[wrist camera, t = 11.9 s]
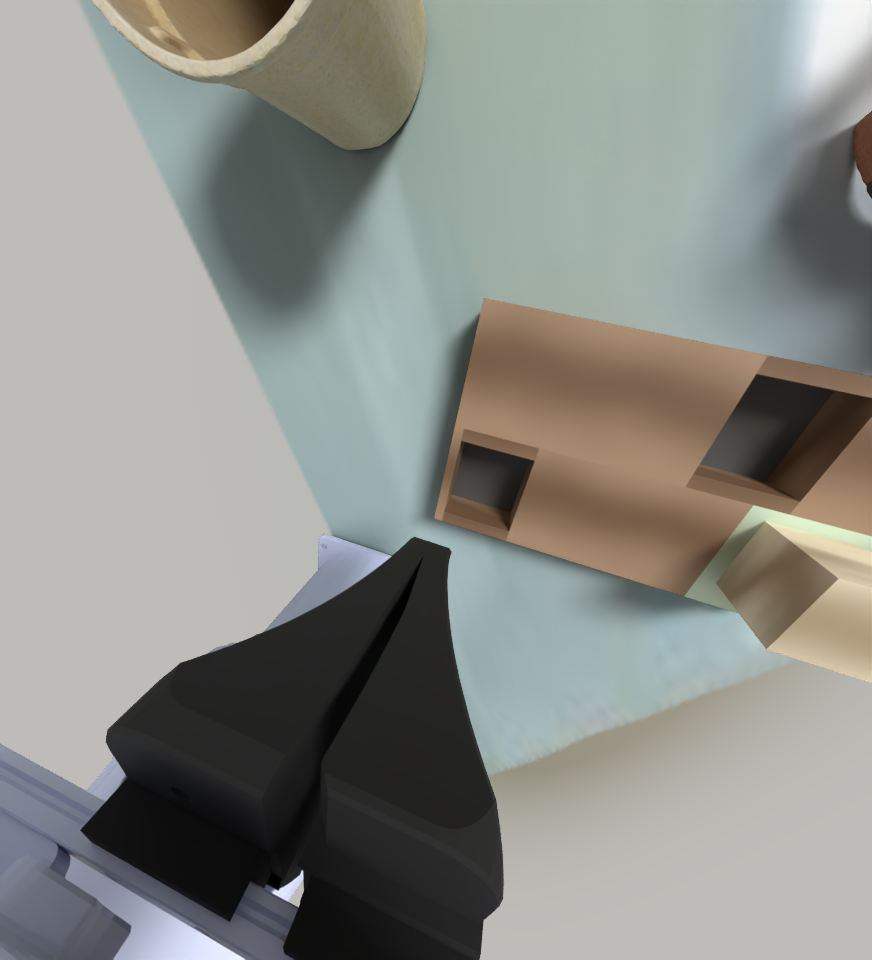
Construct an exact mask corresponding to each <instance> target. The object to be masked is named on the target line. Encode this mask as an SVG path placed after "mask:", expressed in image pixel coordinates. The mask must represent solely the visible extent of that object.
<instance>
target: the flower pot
mask: <svg viewBox="0 0 872 960" xmlns="http://www.w3.org/2000/svg"><path fill="white" fill-rule="evenodd" d="M91 1H92V2H93V4H94V5H95V6H96V7H97V9H98V10H99V11H100V12H101V13H102V14H103V15H104V17H105V18H106V19H107V20H108V21H109V23H110V24H111V25H112V26H113V27H114V28H115V29H116V30H117V31H118V32H119V33H120V34H121V35H123V36H124V37H125V38H126V40H127V41H128V42H130V43H131V44H132V45H133V46H135V47H136V48H137V49H138V50H139V51H140V52H141V53H143V54H144V55H145V56H147V57H148V58H150V59H151V60H152V61H154V62H155V63H157V64H159V65H160V66H161V67H163V68H165V69H167V70H169V71H171V72H173V73H175V74H177V75H179V76H182V77H185V78H188V79H191V80H194V81H198V82H205V83H223V84H226V85H229V86H232V87H236V88H242V89H247V90H248V91H250V92H252V93H253V94H255V95H256V96H258V97H260V98H261V99H263V100H265V101H266V102H268V103H269V104H271V105H273V106H274V107H276V108H278V109H279V110H281V111H282V112H284V113H286V114H287V115H289V116H291V117H292V118H294V119H296V120H297V121H299V122H300V123H302V124H304V125H305V126H307V127H309V128H310V129H312V130H313V131H315V132H317V133H318V134H320V135H321V136H323V137H325V138H326V139H328V140H329V141H330V142H332V143H333V144H335V145H337V146H338V147H341V148H343V149H346V150H360V149H369V148H373V147H378V146H380V145H382V144H383V143H385V142H386V141H388V140H389V139H390V138H391V137H392V136H393V135H394V134H395V133H396V132H397V131H398V130H399V129H400V127H401V126H402V125H403V123H404V122H405V120H406V119H407V117H408V115H409V113H410V112H411V110H412V107H413V105H414V103H415V100H416V98H417V95H418V92H419V89H420V86H421V82H422V78H423V73H424V64H425V47H426V22H425V12H424V6H423V1H422V0H91Z"/></svg>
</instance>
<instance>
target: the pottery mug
mask: <svg viewBox="0 0 872 960" xmlns="http://www.w3.org/2000/svg"><path fill="white" fill-rule="evenodd" d="M854 154H855V158H856V165H857V168H858V170H859V172H860V174H861V176H862V180H863V182H864V183H865V184H866V186H867V192H868V194H869V195H870V197H871V198H872V111H871V112H870V113H869V114H868V115H866V116H865V117H864V118H863V119H862V120H861V121H860V122H859V123H858V124H857V126H856V128H855V131H854Z"/></svg>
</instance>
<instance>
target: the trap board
mask: <svg viewBox="0 0 872 960" xmlns="http://www.w3.org/2000/svg"><path fill="white" fill-rule="evenodd" d="M434 519H437V520H440V521H443V522H447V523H450V524H453V525H456V526H459V527H463V528H466V529H469V530H472V531H475V532H479V533H482V534H485V535H488V536H492V537H495V538H498V539H501V540H504V541H508V542H511V543H514V544H517V545H520V546H524V547H527V548H530V549H533V550H537V551H540V552H543V553H546V554H549V555H553V556H556V557H559V558H562V559H565V560H569V561H572V562H575V563H578V564H582V565H585V566H588V567H591V568H594V569H598V570H601V571H604V572H607V573H610V574H614V575H617V576H620V577H623V578H626V579H630V580H633V581H636V582H639V583H643V584H646V585H649V586H652V587H655V588H659V589H662V590H665V591H668V592H671V593H675V594H678V595H681V596H684V597H688V598H691V599H694V600H697V601H700V602H704V603H707V604H710V605H713V606H716V607H720V608H723V609H726V610H729V611H733V612H736V613H738V611H737V610H736V609H735V608H734V606H733V605H732V604H731V602H730V601H729V600H728V598H727V597H726V596H725V595H724V593H723V592H722V591H721V589H720V588H719V587H718V585H717V584H716V582H717V581H718V580H719V578H720V577H721V576H722V575H723V573H724V572H725V571H726V570H727V568H728V567H729V566H730V564H731V563H732V562H733V561H734V559H735V558H736V557H737V556H738V554H739V553H740V552H741V551H742V549H743V548H744V547H745V546H746V544H747V543H748V542H749V540H750V539H751V538H752V537H753V535H754V534H755V533H756V532H757V530H758V529H759V528H760V527H761V525H762V524H763V523H764V522H765V521H766V522H770V523H774V524H778V525H782V526H785V527H789V528H793V529H797V530H801V531H804V532H808V533H812V534H816V535H820V536H824V537H827V538H831V539H835V540H839V541H843V542H846V543H850V544H854V545H858V546H862V547H864V548H865V549H867V550H869V551H870V552H872V376H867V375H862V374H857V373H852V372H847V371H842V370H837V369H832V368H827V367H823V366H818V365H813V364H808V363H803V362H798V361H793V360H788V359H783V358H778V357H773V356H768V355H763V354H758V353H753V352H748V351H743V350H738V349H733V348H728V347H723V346H718V345H713V344H708V343H704V342H699V341H694V340H689V339H684V338H679V337H674V336H669V335H664V334H659V333H654V332H649V331H644V330H639V329H634V328H629V327H624V326H619V325H614V324H609V323H604V322H599V321H594V320H590V319H585V318H580V317H575V316H570V315H565V314H560V313H555V312H550V311H545V310H540V309H535V308H530V307H525V306H520V305H515V304H510V303H505V302H500V301H495V300H490V299H485V298H484V299H483V304H482V308H481V313H480V317H479V322H478V326H477V330H476V335H475V339H474V344H473V348H472V353H471V357H470V362H469V366H468V370H467V375H466V379H465V384H464V388H463V393H462V397H461V401H460V406H459V410H458V415H457V419H456V424H455V428H454V432H453V437H452V441H451V446H450V450H449V455H448V459H447V463H446V468H445V472H444V477H443V481H442V486H441V490H440V494H439V499H438V503H437V508H436V512H435V517H434Z"/></svg>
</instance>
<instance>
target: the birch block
mask: <svg viewBox="0 0 872 960" xmlns="http://www.w3.org/2000/svg"><path fill="white" fill-rule="evenodd" d="M716 584H717V585H718V587H719V588H720V589H721V591H722V592H723V593H724V595H725V596H726V597H727V598H728V600H729V601H730V602H731V604H732V605H733V606H734V608H735V609H736V610H737V611H738V613H739V614H740V615H741V617H742V618H743V619H744V621H745V622H746V623H747V625H748V626H749V627H750V628H751V630H752V631H753V632H754V634H755V635H756V636H757V638H758V639H759V640H760V642H761V643H762V644H763V645H764V647H765V648H766V649H767V650H770V651H773V652H776V653H780V654H783V655H786V656H789V657H792V658H795V659H799V660H802V661H805V662H808V663H811V664H814V665H818V666H821V667H824V668H827V669H830V670H834V671H837V672H840V673H843V674H846V675H849V676H853V677H856V678H859V679H862V680H865V681H868V682H871V683H872V552H870V551H869V550H867V549H865V548H864V547H862V546H858V545H854V544H850V543H846V542H843V541H839V540H835V539H831V538H827V537H824V536H820V535H816V534H812V533H808V532H804V531H801V530H797V529H793V528H789V527H785V526H782V525H778V524H774V523H770V522H766V521H765V522H764V523H763V524H762V525H761V527H760V528H759V529H758V530H757V532H756V533H755V534H754V535H753V537H752V538H751V539H750V540H749V542H748V543H747V544H746V546H745V547H744V548H743V549H742V551H741V552H740V553H739V554H738V556H737V557H736V558H735V559H734V561H733V562H732V563H731V564H730V566H729V567H728V568H727V570H726V571H725V572H724V573H723V575H722V576H721V577H720V578H719V580H718V581H717V582H716Z"/></svg>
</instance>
